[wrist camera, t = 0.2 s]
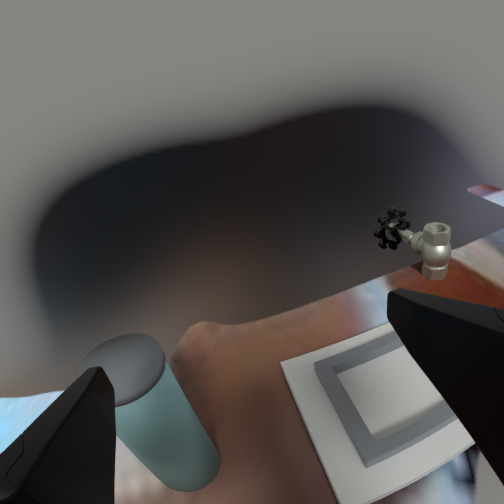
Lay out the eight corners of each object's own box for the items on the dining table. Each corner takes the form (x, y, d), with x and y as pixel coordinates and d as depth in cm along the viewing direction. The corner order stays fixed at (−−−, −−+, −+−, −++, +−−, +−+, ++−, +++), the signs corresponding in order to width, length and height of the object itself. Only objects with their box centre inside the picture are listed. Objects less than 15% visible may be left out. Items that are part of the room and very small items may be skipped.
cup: (226, 485, 19) (160, 390, 14) (157, 495, 18) (67, 405, 13) (216, 431, 24) (162, 325, 19) (155, 442, 23) (86, 343, 18)
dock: (514, 411, 16) (523, 395, 15) (343, 514, 15) (344, 506, 14) (419, 316, 31) (421, 299, 30) (281, 369, 29) (278, 353, 28)
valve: (460, 272, 36) (406, 241, 46) (464, 226, 33) (405, 202, 44) (427, 289, 35) (374, 254, 45) (431, 240, 32) (372, 212, 43)
